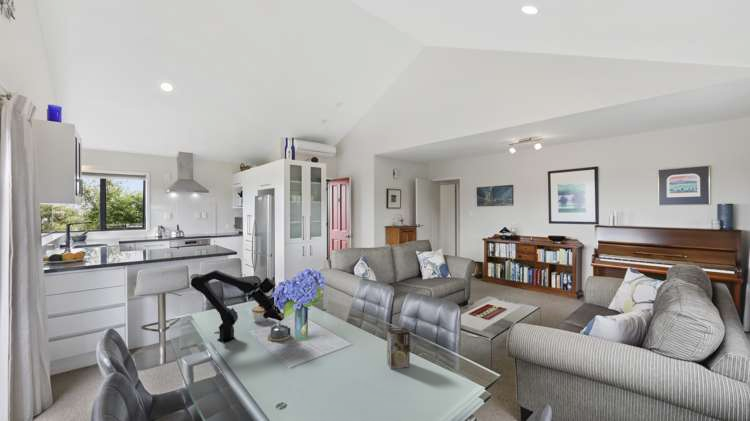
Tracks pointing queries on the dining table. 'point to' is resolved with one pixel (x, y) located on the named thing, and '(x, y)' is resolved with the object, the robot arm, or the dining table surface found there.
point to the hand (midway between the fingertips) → (282, 318)
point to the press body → (279, 334)
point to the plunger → (280, 323)
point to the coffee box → (398, 348)
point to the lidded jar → (258, 314)
